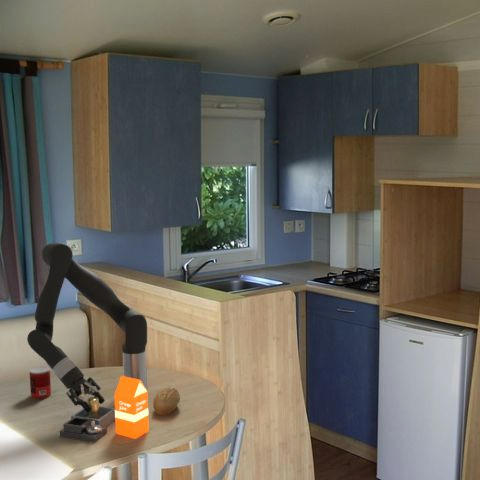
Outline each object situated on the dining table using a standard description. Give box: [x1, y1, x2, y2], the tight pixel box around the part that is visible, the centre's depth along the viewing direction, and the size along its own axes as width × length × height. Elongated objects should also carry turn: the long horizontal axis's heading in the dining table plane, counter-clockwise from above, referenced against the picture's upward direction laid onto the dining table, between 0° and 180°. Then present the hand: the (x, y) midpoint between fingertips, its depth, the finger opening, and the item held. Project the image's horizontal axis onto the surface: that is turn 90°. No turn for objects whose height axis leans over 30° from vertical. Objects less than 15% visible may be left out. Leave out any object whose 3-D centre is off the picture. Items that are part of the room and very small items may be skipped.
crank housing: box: [58, 417, 108, 443], centre depth 251 cm, size 8×14×6 cm, turn 69°
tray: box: [70, 405, 115, 427], centre depth 262 cm, size 12×12×4 cm
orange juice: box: [113, 375, 150, 440], centre depth 252 cm, size 8×9×20 cm
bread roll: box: [152, 387, 181, 417], centre depth 274 cm, size 10×15×8 cm, turn 174°
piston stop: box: [86, 396, 100, 419], centre depth 261 cm, size 4×4×8 cm
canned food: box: [29, 365, 52, 400], centre depth 289 cm, size 8×8×11 cm
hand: (96, 406), depth 261 cm, fingers open, 8 cm apart
